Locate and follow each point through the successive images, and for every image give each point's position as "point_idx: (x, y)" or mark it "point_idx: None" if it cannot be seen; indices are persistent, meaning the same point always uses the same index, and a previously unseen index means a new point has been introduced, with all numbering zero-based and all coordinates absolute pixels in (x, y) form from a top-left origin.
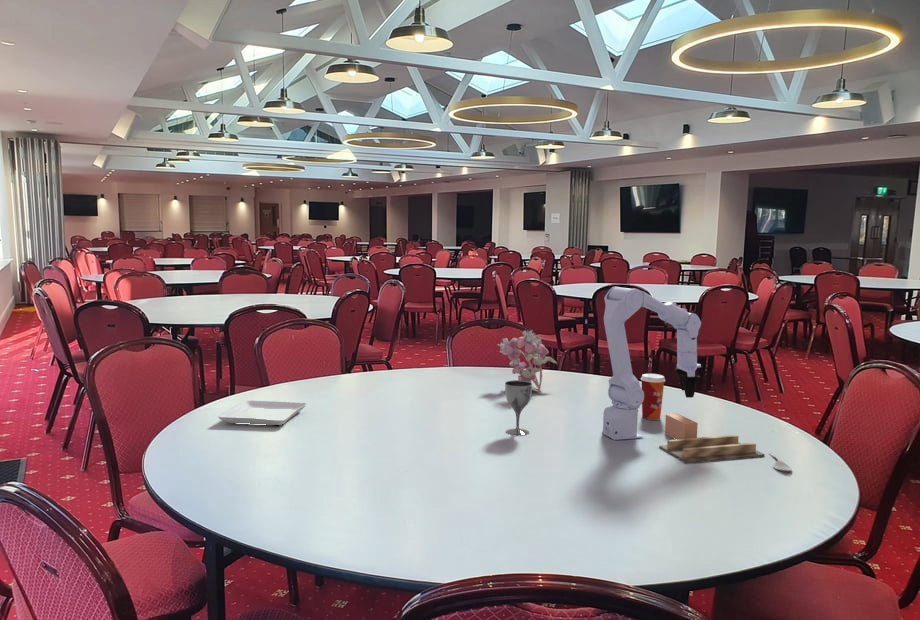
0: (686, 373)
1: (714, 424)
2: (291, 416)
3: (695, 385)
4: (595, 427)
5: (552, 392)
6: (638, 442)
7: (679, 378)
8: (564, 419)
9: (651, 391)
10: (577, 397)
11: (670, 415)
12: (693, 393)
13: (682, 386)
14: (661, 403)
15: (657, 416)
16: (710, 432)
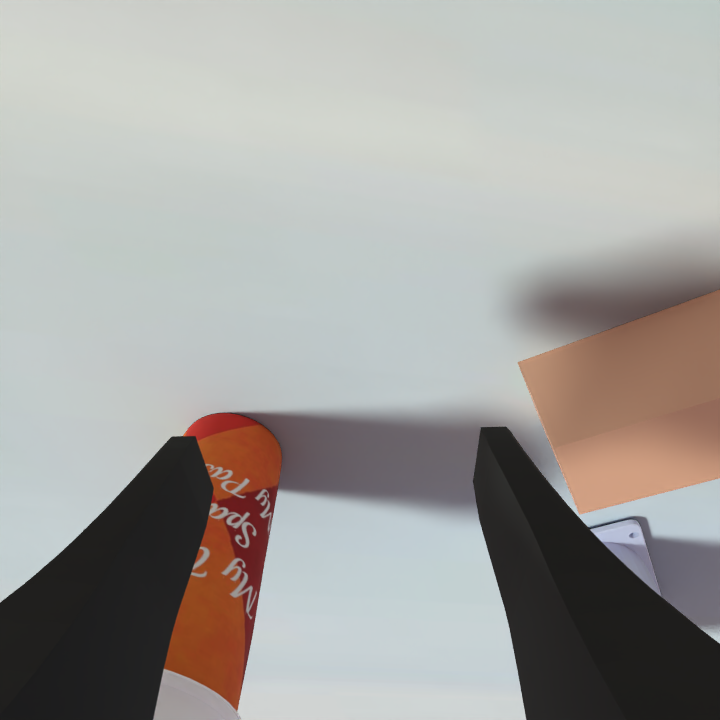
0: (94, 707)
1: (232, 42)
2: None
3: (624, 570)
4: (469, 632)
5: None
6: (696, 534)
7: (157, 654)
8: (379, 688)
9: (250, 632)
10: None
11: (610, 494)
12: (529, 465)
13: (200, 529)
14: (215, 487)
15: (264, 443)
16: (493, 127)
